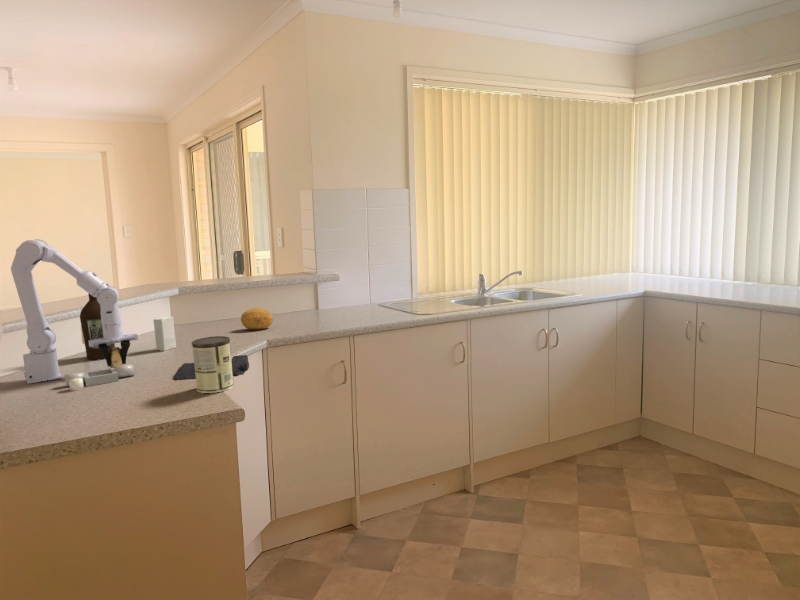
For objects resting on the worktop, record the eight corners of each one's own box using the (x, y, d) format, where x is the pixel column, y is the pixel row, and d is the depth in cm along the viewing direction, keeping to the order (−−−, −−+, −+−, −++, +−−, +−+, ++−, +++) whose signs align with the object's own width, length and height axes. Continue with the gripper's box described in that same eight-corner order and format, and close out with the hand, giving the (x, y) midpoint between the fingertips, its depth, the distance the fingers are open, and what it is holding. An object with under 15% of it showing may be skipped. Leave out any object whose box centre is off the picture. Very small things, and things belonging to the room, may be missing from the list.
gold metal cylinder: (111, 372, 197) (108, 349, 196) (109, 370, 200) (107, 347, 199) (124, 370, 199) (122, 347, 198) (123, 368, 202) (120, 345, 201)
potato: (270, 308, 256) (271, 303, 265) (238, 312, 254) (239, 307, 262) (273, 330, 258) (274, 324, 267) (241, 334, 256) (243, 328, 265)
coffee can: (202, 384, 177) (197, 337, 175) (237, 382, 177) (233, 335, 175) (191, 394, 167) (186, 344, 165) (229, 392, 167) (224, 342, 165)
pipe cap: (70, 391, 176) (69, 381, 176) (69, 389, 179) (68, 379, 179) (84, 389, 178) (83, 379, 178) (83, 386, 181) (82, 377, 181)
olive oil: (83, 357, 223) (74, 289, 219) (114, 352, 229) (106, 286, 225) (87, 362, 214) (78, 292, 210) (119, 357, 220) (111, 288, 216)
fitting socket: (67, 389, 178) (65, 378, 178) (65, 383, 186) (63, 372, 185) (136, 377, 188) (134, 366, 188) (131, 372, 196) (130, 361, 195)
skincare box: (168, 347, 233) (164, 316, 231) (177, 347, 231) (173, 316, 229) (155, 350, 227) (152, 319, 226) (164, 351, 226) (161, 319, 224)
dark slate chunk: (184, 369, 198) (182, 355, 197) (252, 365, 199) (251, 350, 199) (170, 382, 183) (168, 367, 182) (244, 377, 184) (243, 362, 183)
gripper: (88, 328, 190) (93, 371, 192) (137, 322, 198) (142, 363, 200) (86, 326, 196) (91, 366, 198) (134, 319, 204) (138, 359, 205)
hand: (116, 364), depth 199 cm, fingers closed on gold metal cylinder, 4 cm apart
